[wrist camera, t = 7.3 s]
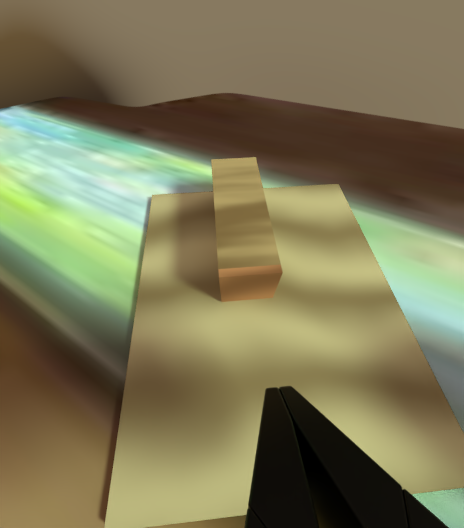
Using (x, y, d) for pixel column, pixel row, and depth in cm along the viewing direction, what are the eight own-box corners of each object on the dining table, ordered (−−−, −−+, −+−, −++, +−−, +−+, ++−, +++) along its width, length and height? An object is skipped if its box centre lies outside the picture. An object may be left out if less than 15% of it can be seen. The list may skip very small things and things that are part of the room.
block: (282, 272, 14) (255, 157, 20) (218, 277, 14) (211, 159, 20) (272, 297, 17) (252, 192, 24) (221, 302, 17) (214, 194, 23)
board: (478, 480, 12) (488, 484, 12) (109, 526, 11) (103, 532, 11) (336, 188, 25) (338, 183, 24) (153, 199, 24) (152, 195, 23)
